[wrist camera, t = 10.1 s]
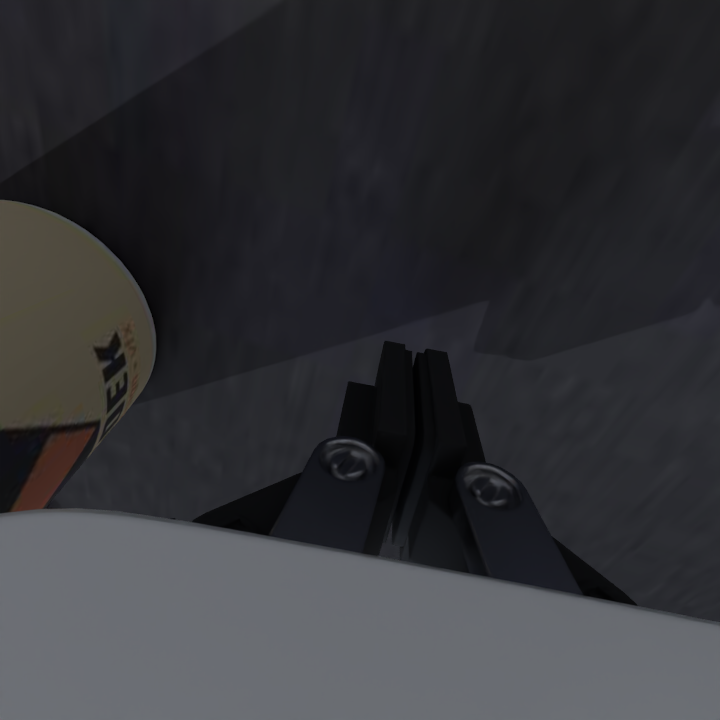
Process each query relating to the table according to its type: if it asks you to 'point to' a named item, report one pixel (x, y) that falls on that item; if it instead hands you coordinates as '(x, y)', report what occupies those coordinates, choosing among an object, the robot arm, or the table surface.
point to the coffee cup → (62, 350)
